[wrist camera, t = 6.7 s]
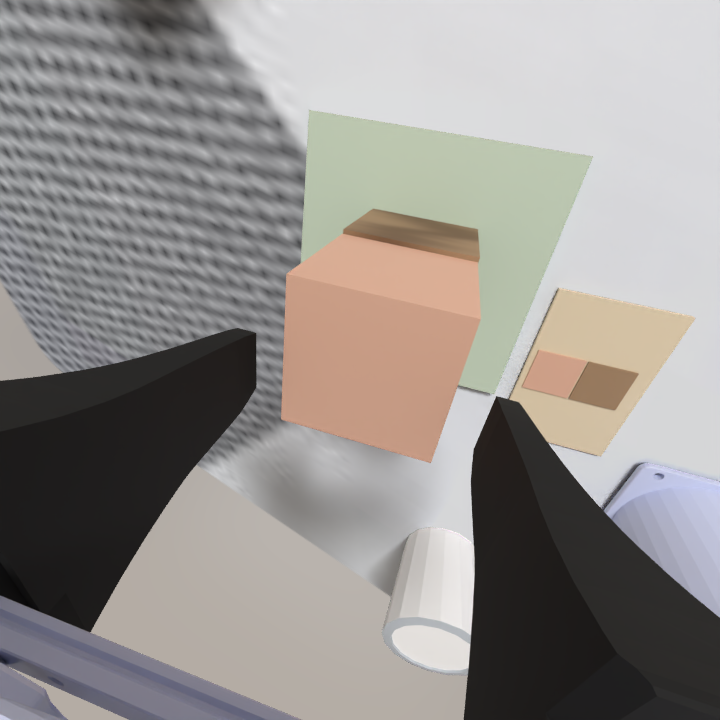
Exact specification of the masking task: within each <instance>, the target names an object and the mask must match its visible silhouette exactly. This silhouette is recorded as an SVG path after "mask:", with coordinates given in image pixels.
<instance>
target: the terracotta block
mask: <svg viewBox="0 0 720 720" xmlns="http://www.w3.org/2000/svg"><path fill="white" fill-rule="evenodd" d="M480 320H481V311H480V292H479V274H478V262H474V261H469V260H464V259H460V258H455V257H450V256H445V255H441V254H436V253H431V252H427V251H422V250H417V249H412V248H408V247H403V246H398V245H394V244H389V243H384V242H379V241H375V240H370V239H365V238H360V237H356V236H351V235H346V234H341V235H340V236H338V237H337V238H336V239H334V240H333V241H331V242H330V243H329V244H327V245H326V246H325V247H323V248H322V249H320V250H319V251H318V252H316V253H315V254H313V255H312V256H311V257H309V258H308V259H307V260H305V261H304V262H302V263H301V264H300V265H298V266H297V267H295V268H294V269H293V270H291V271H290V272H289V273H287V276H286V303H285V330H284V357H283V384H282V411H281V420H285V421H288V422H292V423H295V424H299V425H302V426H305V427H309V428H312V429H316V430H319V431H323V432H326V433H329V434H333V435H336V436H340V437H343V438H347V439H350V440H354V441H357V442H360V443H364V444H367V445H371V446H374V447H378V448H381V449H384V450H388V451H391V452H395V453H398V454H402V455H405V456H408V457H412V458H415V459H419V460H422V461H426V462H429V463H431V461H432V458H433V455H434V452H435V450H436V447H437V444H438V441H439V438H440V435H441V432H442V429H443V427H444V424H445V421H446V418H447V415H448V412H449V409H450V407H451V404H452V401H453V398H454V395H455V392H456V389H457V386H458V384H459V381H460V378H461V375H462V372H463V369H464V366H465V363H466V361H467V358H468V355H469V352H470V349H471V346H472V343H473V340H474V338H475V335H476V332H477V329H478V326H479V323H480Z"/></svg>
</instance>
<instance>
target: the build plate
mask: <svg viewBox="0 0 720 720" xmlns="http://www.w3.org/2000/svg"><path fill="white" fill-rule="evenodd" d="M592 158H593V156H586V155H580V154H574V153H568V152H562V151H556V150H550V149H544V148H538V147H531V146H525V145H519V144H513V143H507V142H501V141H495V140H489V139H483V138H476V137H470V136H464V135H458V134H452V133H446V132H440V131H434V130H428V129H422V128H415V127H409V126H403V125H397V124H391V123H385V122H379V121H373V120H367V119H360V118H354V117H348V116H342V115H336V114H330V113H324V112H318V111H312V110H309V124H308V142H307V160H306V178H305V196H304V214H303V232H302V250H301V263H302V262H304V261H305V260H307V259H308V258H309V257H311V256H312V255H313V254H315V253H316V252H318V251H319V250H320V249H322V248H323V247H325V246H326V245H327V244H329V243H330V242H331V241H333V240H334V239H336V238H337V237H338V236H340V235H341V234H343V229H344V228H346V227H347V226H349V225H350V224H351V223H353V222H354V221H356V220H357V219H359V218H360V217H362V216H363V215H364V214H366V213H367V212H369V211H370V210H372V209H378V210H384V211H389V212H394V213H399V214H404V215H409V216H414V217H419V218H424V219H429V220H434V221H439V222H444V223H449V224H454V225H459V226H464V227H469V228H475V229H478V237H479V251H480V259H479V262H478V274H479V292H480V311H481V320H480V323H479V326H478V329H477V332H476V335H475V338H474V340H473V343H472V346H471V349H470V352H469V355H468V358H467V361H466V363H465V366H464V369H463V372H462V375H461V378H460V381H459V384H458V385H460V386H463V387H467V388H471V389H475V390H479V391H483V392H487V393H491V394H494V393H495V391H496V388H497V386H498V384H499V381H500V379H501V376H502V374H503V372H504V369H505V367H506V364H507V362H508V360H509V357H510V355H511V352H512V350H513V348H514V345H515V343H516V340H517V338H518V336H519V333H520V331H521V328H522V326H523V324H524V321H525V319H526V316H527V314H528V312H529V309H530V307H531V304H532V302H533V300H534V297H535V295H536V292H537V290H538V288H539V285H540V283H541V280H542V278H543V276H544V273H545V271H546V268H547V266H548V264H549V261H550V259H551V256H552V254H553V252H554V249H555V247H556V244H557V242H558V240H559V237H560V235H561V232H562V230H563V228H564V225H565V223H566V220H567V218H568V216H569V213H570V211H571V208H572V206H573V204H574V201H575V199H576V196H577V194H578V192H579V189H580V187H581V184H582V182H583V180H584V177H585V175H586V172H587V170H588V168H589V165H590V163H591V160H592Z"/></svg>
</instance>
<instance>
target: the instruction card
mask: <svg viewBox="0 0 720 720" xmlns="http://www.w3.org/2000/svg"><path fill="white" fill-rule="evenodd" d="M694 320H695V318H694V317H693V316H688V315H683V314H679V313H674V312H669V311H665V310H660V309H655V308H651V307H646V306H641V305H637V304H632V303H627V302H622V301H618V300H613V299H608V298H604V297H599V296H594V295H590V294H585V293H580V292H576V291H571V290H566V289H562V288H558V290H557V293H556V295H555V297H554V299H553V301H552V304H551V306H550V308H549V310H548V313H547V315H546V317H545V319H544V322H543V324H542V326H541V328H540V331H539V333H538V335H537V337H536V339H535V342H534V344H533V346H532V348H531V351H530V353H529V355H528V357H527V360H526V362H525V364H524V366H523V369H522V371H521V373H520V375H519V378H518V380H517V382H516V384H515V386H514V389H513V391H512V393H511V395H510V398H509V400H513V401H517V402H519V403H520V404H521V405H522V407H523V408H524V409H525V411H526V412H527V414H528V415H529V417H530V418H531V420H532V421H533V422H534V424H535V425H536V427H537V428H538V430H539V431H540V433H541V434H542V435H543V437H544V438H545V440H546V441H547V442H549V443H553V444H557V445H560V446H564V447H568V448H571V449H575V450H579V451H583V452H586V453H590V454H594V455H597V456H601V455H602V454H603V452H604V451H605V450H606V448H607V447H608V445H609V444H610V442H611V441H612V439H613V438H614V436H615V435H616V433H617V432H618V431H619V429H620V428H621V426H622V425H623V423H624V422H625V420H626V419H627V417H628V416H629V415H630V413H631V412H632V410H633V409H634V407H635V406H636V404H637V403H638V401H639V400H640V398H641V397H642V396H643V394H644V393H645V391H646V390H647V388H648V387H649V385H650V384H651V382H652V381H653V379H654V378H655V377H656V375H657V374H658V372H659V371H660V369H661V368H662V366H663V365H664V363H665V362H666V361H667V359H668V358H669V356H670V355H671V353H672V352H673V350H674V349H675V347H676V346H677V344H678V343H679V342H680V340H681V339H682V337H683V336H684V334H685V333H686V331H687V330H688V328H689V327H690V326H691V324H692V323H693V321H694Z"/></svg>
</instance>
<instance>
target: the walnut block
mask: <svg viewBox="0 0 720 720" xmlns="http://www.w3.org/2000/svg"><path fill="white" fill-rule="evenodd" d="M343 234H346V235H351V236H356V237H360V238H365V239H370V240H375V241H379V242H384V243H389V244H394V245H398V246H403V247H408V248H412V249H417V250H422V251H427V252H431V253H436V254H441V255H445V256H450V257H455V258H460V259H464V260H469V261H474V262H479V259H480V251H479V237H478V229H475V228H469V227H464V226H459V225H454V224H449V223H444V222H439V221H434V220H429V219H424V218H419V217H414V216H409V215H404V214H399V213H394V212H389V211H384V210H378V209H372V210H370V211H369V212H367V213H366V214H364V215H363V216H362V217H360V218H359V219H357V220H356V221H354V222H353V223H351V224H350V225H349V226H347V227H346V228H344V229H343Z"/></svg>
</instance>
